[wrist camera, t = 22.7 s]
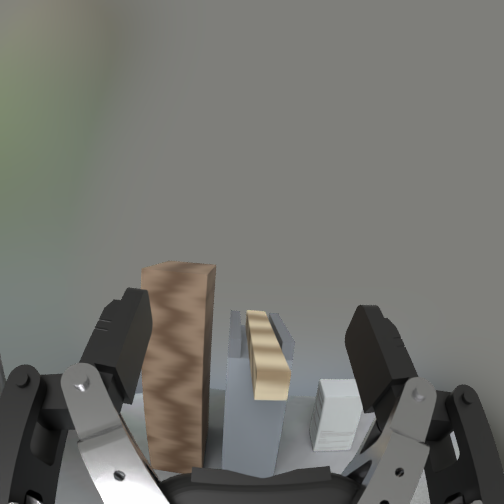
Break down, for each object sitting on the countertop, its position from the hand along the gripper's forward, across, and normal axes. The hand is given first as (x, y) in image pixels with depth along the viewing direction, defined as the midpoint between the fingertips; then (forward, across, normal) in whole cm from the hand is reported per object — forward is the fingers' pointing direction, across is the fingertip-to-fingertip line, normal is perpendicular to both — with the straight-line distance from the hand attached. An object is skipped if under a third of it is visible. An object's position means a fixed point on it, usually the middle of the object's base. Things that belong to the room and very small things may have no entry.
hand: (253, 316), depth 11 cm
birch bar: (+16, -4, +22) cm, 27 cm away
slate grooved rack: (+10, -4, +44) cm, 45 cm away
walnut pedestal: (+10, +7, +44) cm, 46 cm away
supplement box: (+11, -20, +45) cm, 51 cm away
